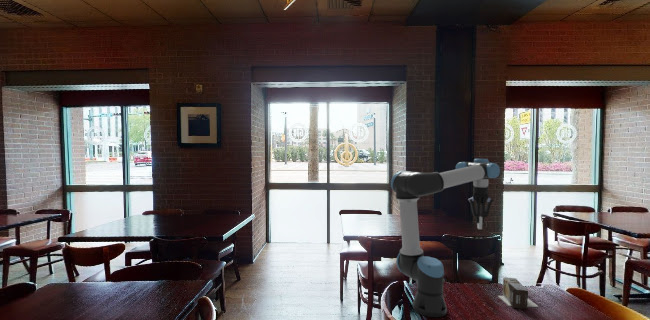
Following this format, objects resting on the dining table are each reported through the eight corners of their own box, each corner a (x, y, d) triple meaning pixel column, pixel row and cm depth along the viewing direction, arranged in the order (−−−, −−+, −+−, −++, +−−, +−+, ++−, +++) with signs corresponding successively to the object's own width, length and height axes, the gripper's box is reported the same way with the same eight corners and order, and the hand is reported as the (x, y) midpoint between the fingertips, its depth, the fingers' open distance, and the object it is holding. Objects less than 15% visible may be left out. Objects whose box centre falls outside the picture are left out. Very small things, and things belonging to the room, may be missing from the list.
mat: (508, 306, 159) (508, 305, 159) (497, 296, 170) (497, 295, 170) (538, 307, 158) (538, 306, 158) (525, 297, 169) (525, 296, 169)
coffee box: (502, 276, 172) (513, 288, 156) (516, 278, 170) (528, 290, 155) (502, 294, 172) (512, 307, 156) (515, 295, 170) (527, 309, 155)
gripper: (489, 186, 185) (488, 227, 185) (466, 185, 185) (465, 227, 185) (495, 187, 177) (494, 230, 177) (471, 186, 178) (470, 230, 178)
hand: (479, 228), depth 181 cm, fingers closed
